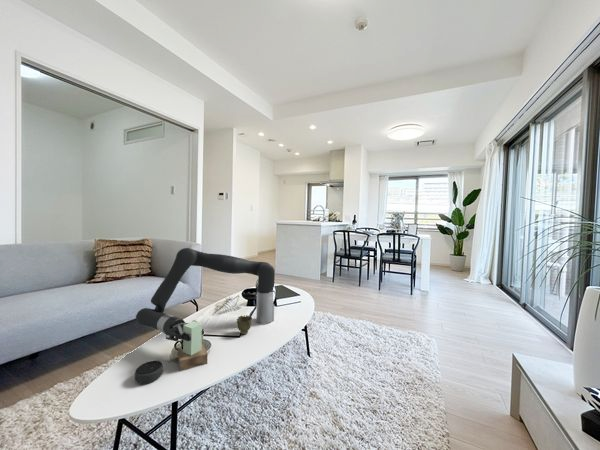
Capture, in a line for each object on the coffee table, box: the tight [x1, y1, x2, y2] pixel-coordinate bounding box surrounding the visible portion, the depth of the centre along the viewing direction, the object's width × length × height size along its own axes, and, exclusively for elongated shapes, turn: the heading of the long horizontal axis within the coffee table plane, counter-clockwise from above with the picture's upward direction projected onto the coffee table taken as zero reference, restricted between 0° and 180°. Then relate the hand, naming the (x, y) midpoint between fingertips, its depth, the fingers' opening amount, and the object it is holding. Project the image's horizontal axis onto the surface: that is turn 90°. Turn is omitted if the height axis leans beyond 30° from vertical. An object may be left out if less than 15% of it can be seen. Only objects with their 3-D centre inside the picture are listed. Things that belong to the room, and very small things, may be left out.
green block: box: [182, 320, 203, 355], centre depth 100 cm, size 5×5×11 cm
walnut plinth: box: [177, 342, 208, 372], centre depth 100 cm, size 10×10×4 cm
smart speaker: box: [134, 360, 164, 385], centre depth 90 cm, size 9×9×4 cm
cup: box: [236, 315, 253, 336], centre depth 124 cm, size 8×7×8 cm
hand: (196, 335), depth 98 cm, fingers open, 5 cm apart
